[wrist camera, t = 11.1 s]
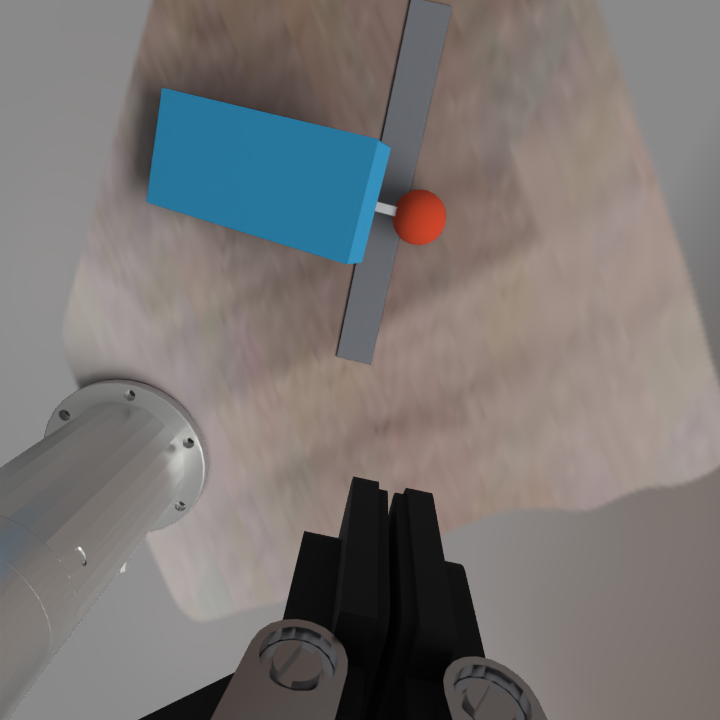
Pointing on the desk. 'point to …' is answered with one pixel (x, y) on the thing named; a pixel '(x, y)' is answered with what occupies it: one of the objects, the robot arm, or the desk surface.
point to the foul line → (395, 172)
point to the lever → (279, 178)
